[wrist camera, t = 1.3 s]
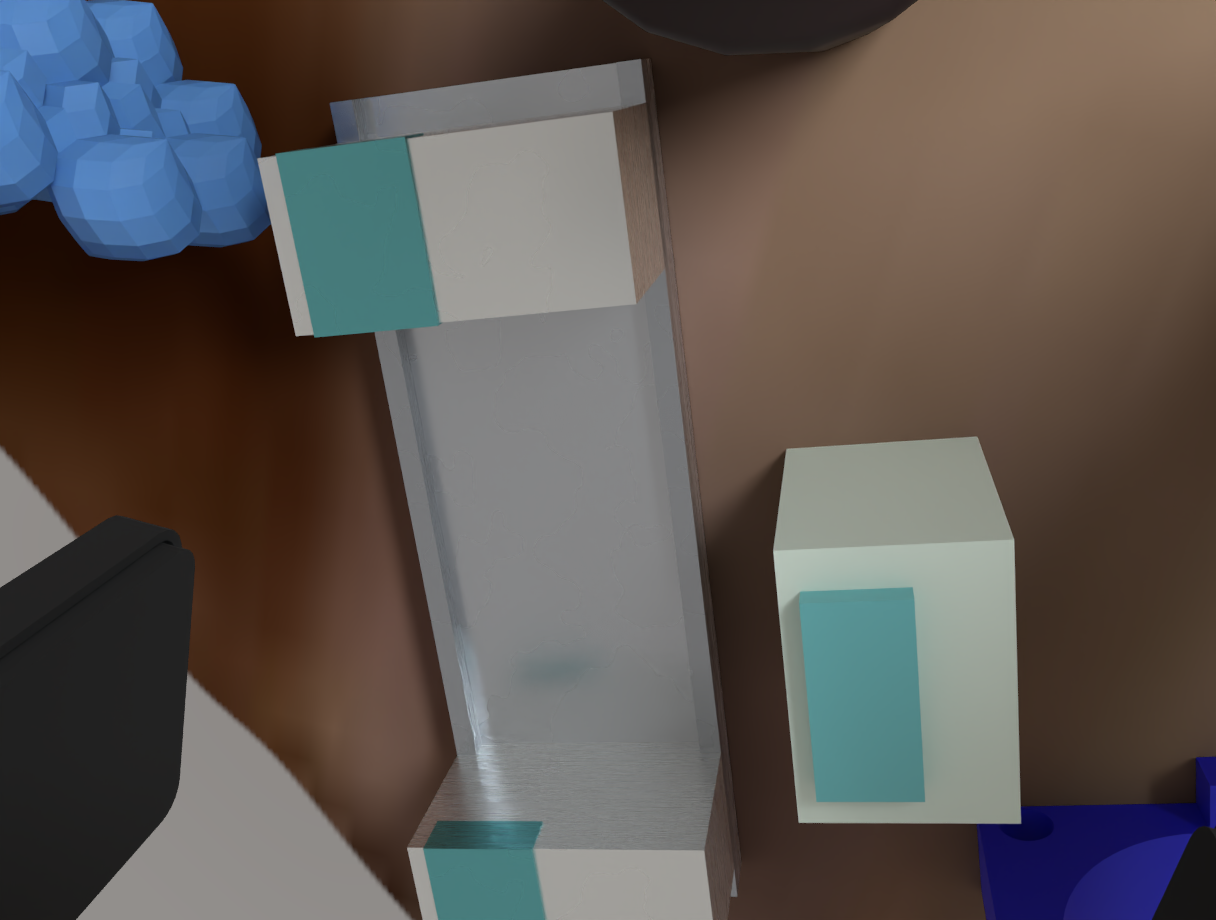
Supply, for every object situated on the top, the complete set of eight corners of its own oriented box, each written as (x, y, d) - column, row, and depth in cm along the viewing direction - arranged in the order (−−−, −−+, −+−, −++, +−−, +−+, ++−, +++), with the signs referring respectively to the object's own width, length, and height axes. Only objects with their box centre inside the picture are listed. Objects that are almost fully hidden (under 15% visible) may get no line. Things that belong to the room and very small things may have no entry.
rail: (650, 58, 29) (605, 60, 23) (741, 862, 36) (723, 1011, 31) (354, 100, 31) (244, 111, 25) (498, 859, 38) (438, 1000, 32)
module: (977, 435, 31) (1018, 550, 24) (985, 670, 33) (1025, 840, 26) (786, 448, 32) (771, 561, 25) (806, 674, 34) (798, 838, 27)
